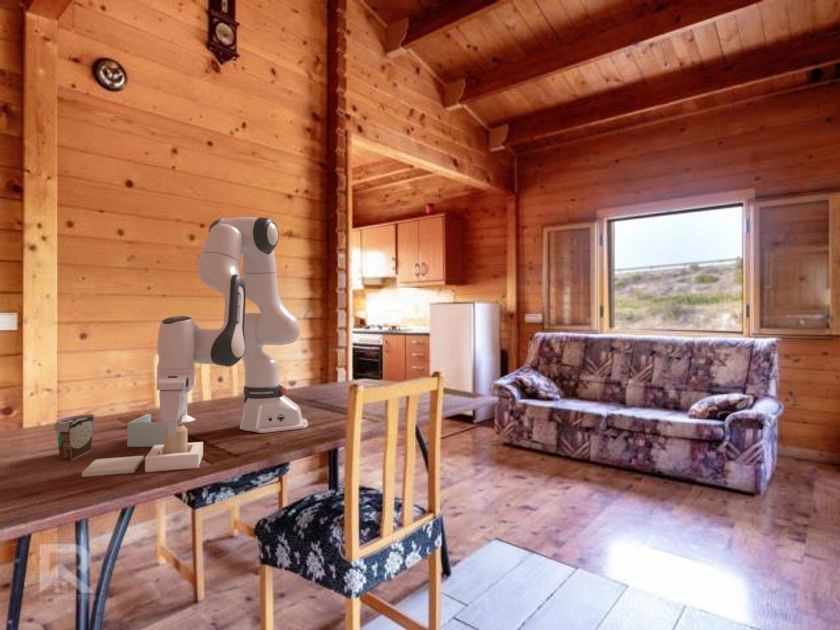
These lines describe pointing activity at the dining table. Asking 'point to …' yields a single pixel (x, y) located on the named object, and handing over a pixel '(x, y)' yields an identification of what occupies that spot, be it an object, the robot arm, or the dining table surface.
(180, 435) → the candle
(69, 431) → the food container
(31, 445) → the dining table surface
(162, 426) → the l-shaped corner panel
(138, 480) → the dining table surface
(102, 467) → the cream tile
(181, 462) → the pocket block
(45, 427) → the dining table surface
